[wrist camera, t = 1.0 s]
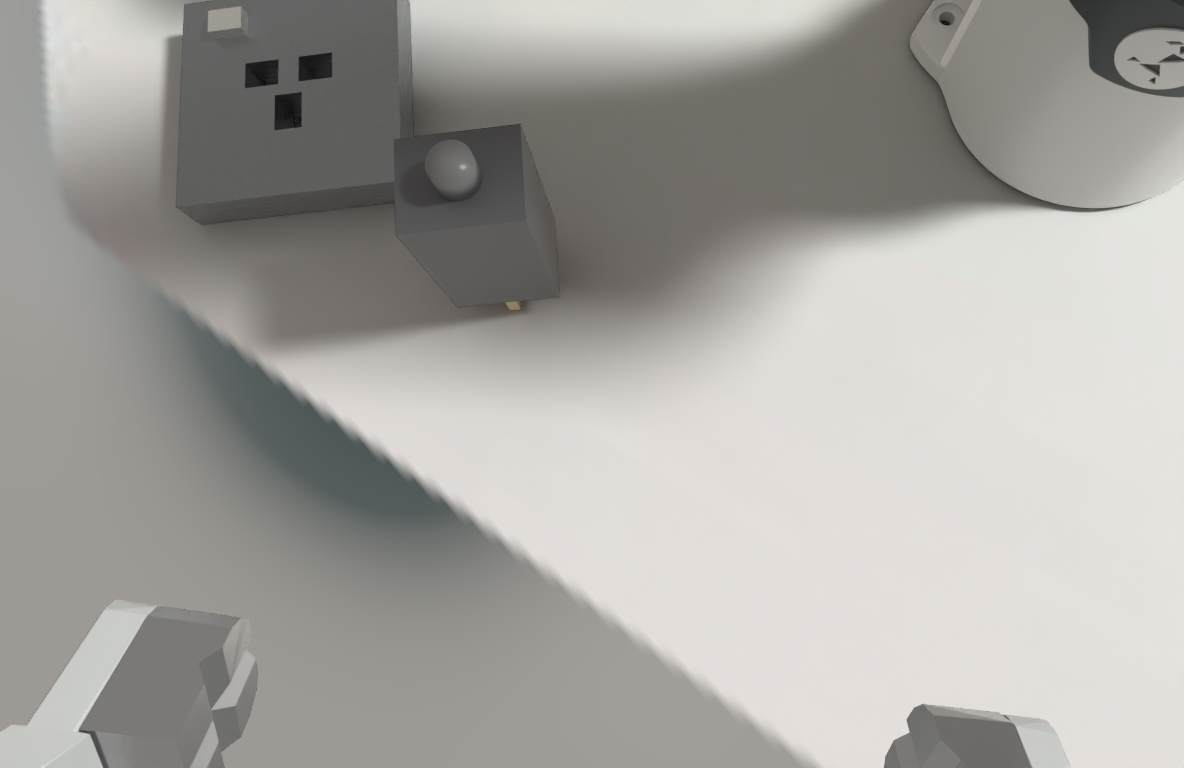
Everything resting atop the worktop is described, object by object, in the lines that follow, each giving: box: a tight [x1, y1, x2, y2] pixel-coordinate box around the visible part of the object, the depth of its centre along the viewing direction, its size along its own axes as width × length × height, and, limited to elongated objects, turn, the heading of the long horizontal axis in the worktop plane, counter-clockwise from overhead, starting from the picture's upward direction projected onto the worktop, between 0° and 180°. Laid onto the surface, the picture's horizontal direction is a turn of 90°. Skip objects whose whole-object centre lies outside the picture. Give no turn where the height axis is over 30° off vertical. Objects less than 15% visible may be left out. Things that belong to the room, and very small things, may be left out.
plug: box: [394, 124, 560, 310], centre depth 40 cm, size 6×4×14 cm
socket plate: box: [176, 0, 414, 224], centre depth 49 cm, size 13×13×3 cm
